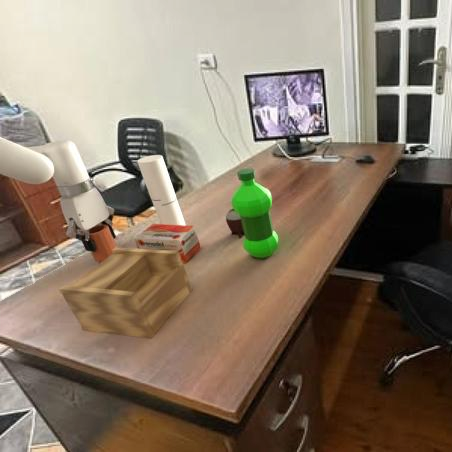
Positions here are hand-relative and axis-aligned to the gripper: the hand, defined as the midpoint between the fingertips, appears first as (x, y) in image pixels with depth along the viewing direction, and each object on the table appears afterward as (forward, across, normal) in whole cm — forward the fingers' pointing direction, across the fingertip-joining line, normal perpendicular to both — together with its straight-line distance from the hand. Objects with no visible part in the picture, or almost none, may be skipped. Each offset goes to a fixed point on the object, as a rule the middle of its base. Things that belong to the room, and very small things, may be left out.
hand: (101, 243), depth 103 cm
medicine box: (+5, -4, +19) cm, 20 cm away
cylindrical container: (+5, -18, +10) cm, 22 cm away
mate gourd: (+5, -18, +35) cm, 40 cm away
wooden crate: (+6, +18, +26) cm, 33 cm away
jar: (+4, 0, 0) cm, 4 cm away
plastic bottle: (+5, -8, +47) cm, 48 cm away
